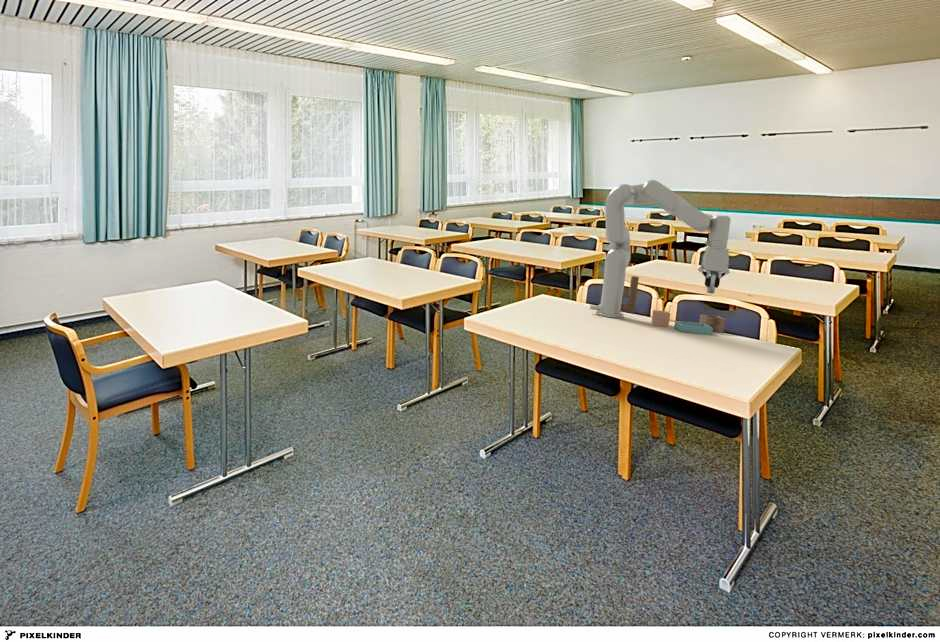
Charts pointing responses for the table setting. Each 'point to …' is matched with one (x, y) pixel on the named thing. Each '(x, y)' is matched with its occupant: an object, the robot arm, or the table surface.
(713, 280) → the pin gauge
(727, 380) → the table surface
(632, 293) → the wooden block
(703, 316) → the brown block
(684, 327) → the tray
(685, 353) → the table surface
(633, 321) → the table surface
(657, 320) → the block
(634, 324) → the table surface
